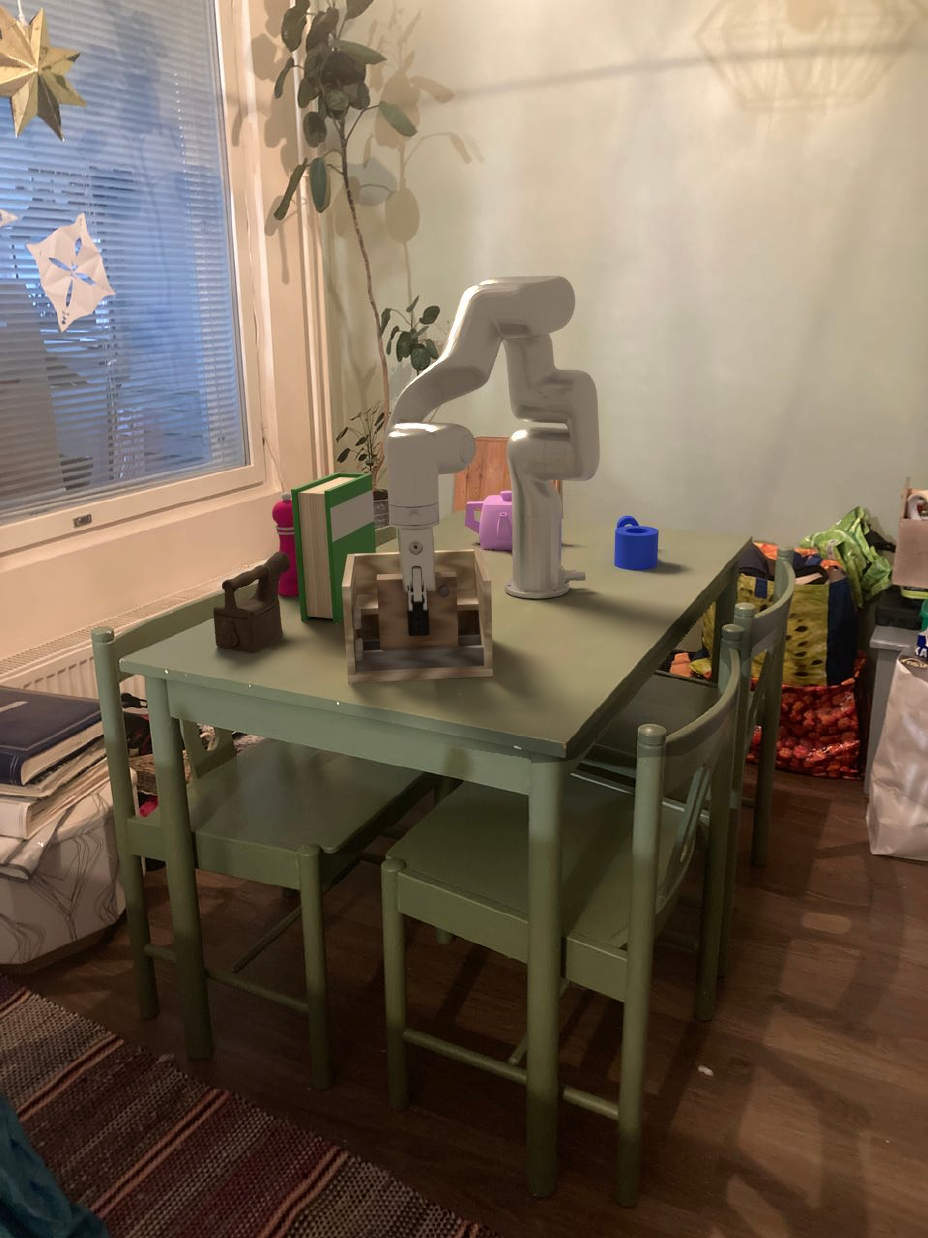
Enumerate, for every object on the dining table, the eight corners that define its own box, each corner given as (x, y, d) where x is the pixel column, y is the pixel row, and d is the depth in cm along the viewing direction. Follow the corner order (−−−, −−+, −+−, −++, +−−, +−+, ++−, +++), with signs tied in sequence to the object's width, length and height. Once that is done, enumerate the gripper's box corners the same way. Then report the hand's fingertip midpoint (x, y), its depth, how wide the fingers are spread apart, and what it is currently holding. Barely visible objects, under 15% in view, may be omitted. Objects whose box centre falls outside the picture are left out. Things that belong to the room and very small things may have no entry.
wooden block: (457, 645, 154) (455, 571, 150) (458, 654, 150) (457, 578, 146) (380, 648, 153) (376, 574, 149) (380, 657, 149) (376, 582, 145)
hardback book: (337, 623, 175) (329, 491, 168) (301, 620, 178) (290, 489, 170) (378, 595, 191) (371, 473, 184) (344, 593, 194) (336, 472, 186)
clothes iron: (307, 626, 174) (301, 553, 170) (251, 655, 161) (244, 576, 157) (270, 621, 178) (264, 549, 174) (213, 648, 164) (205, 571, 160)
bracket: (660, 570, 205) (661, 535, 202) (616, 571, 205) (617, 536, 203) (646, 548, 223) (647, 515, 221) (606, 548, 224) (607, 515, 221)
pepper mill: (277, 587, 198) (268, 489, 192) (313, 585, 199) (306, 488, 193) (273, 597, 192) (265, 496, 185) (310, 595, 192) (303, 495, 186)
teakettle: (511, 531, 241) (511, 481, 237) (558, 543, 228) (559, 491, 224) (456, 543, 231) (455, 491, 227) (503, 556, 218) (502, 501, 215)
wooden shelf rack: (481, 635, 168) (480, 548, 163) (492, 676, 149) (491, 580, 145) (353, 640, 166) (347, 554, 162) (347, 682, 148) (341, 586, 143)
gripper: (441, 525, 138) (445, 648, 144) (436, 502, 153) (440, 614, 159) (388, 527, 137) (394, 650, 143) (388, 504, 153) (394, 616, 159)
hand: (418, 630), depth 151 cm, fingers closed on wooden block, 3 cm apart
